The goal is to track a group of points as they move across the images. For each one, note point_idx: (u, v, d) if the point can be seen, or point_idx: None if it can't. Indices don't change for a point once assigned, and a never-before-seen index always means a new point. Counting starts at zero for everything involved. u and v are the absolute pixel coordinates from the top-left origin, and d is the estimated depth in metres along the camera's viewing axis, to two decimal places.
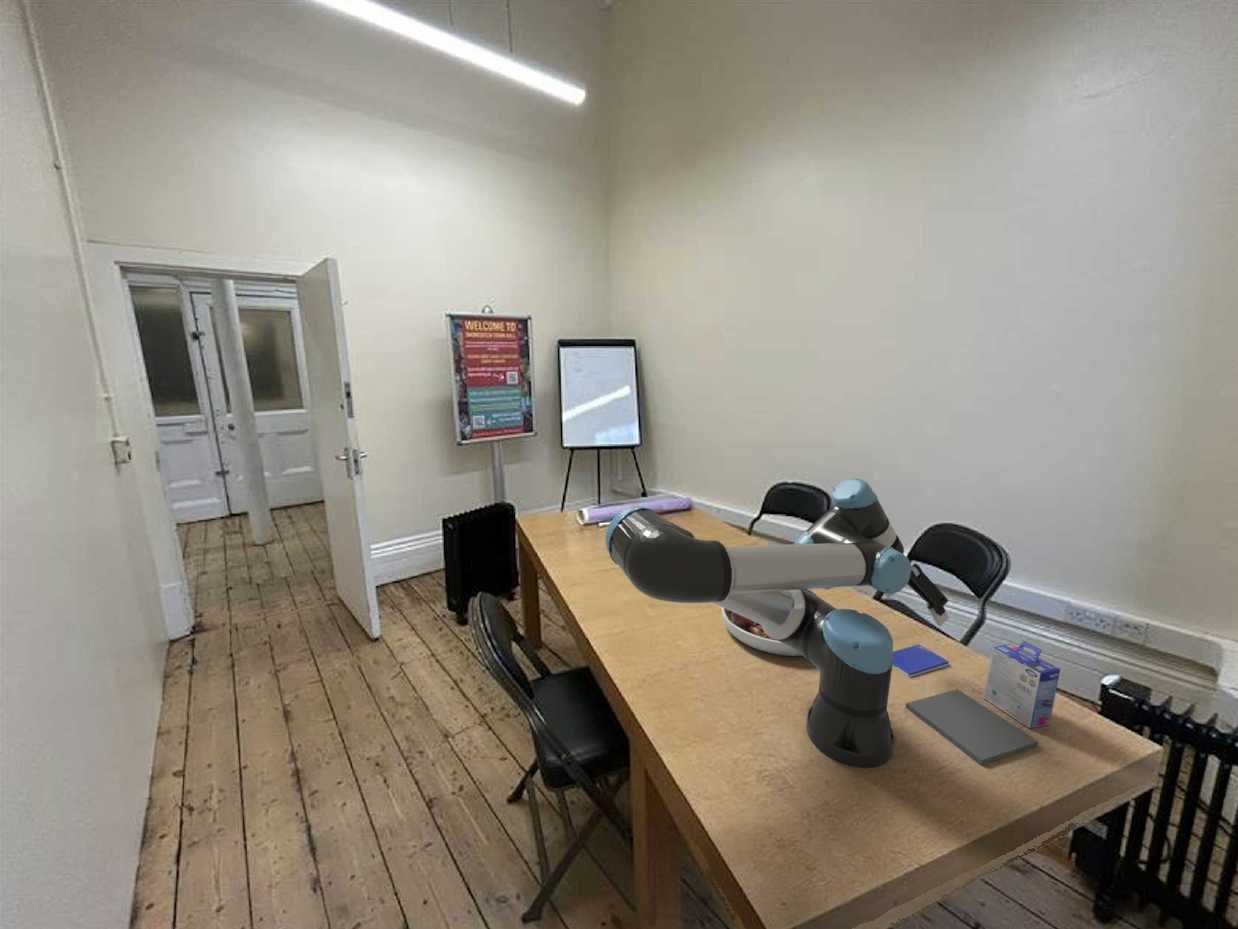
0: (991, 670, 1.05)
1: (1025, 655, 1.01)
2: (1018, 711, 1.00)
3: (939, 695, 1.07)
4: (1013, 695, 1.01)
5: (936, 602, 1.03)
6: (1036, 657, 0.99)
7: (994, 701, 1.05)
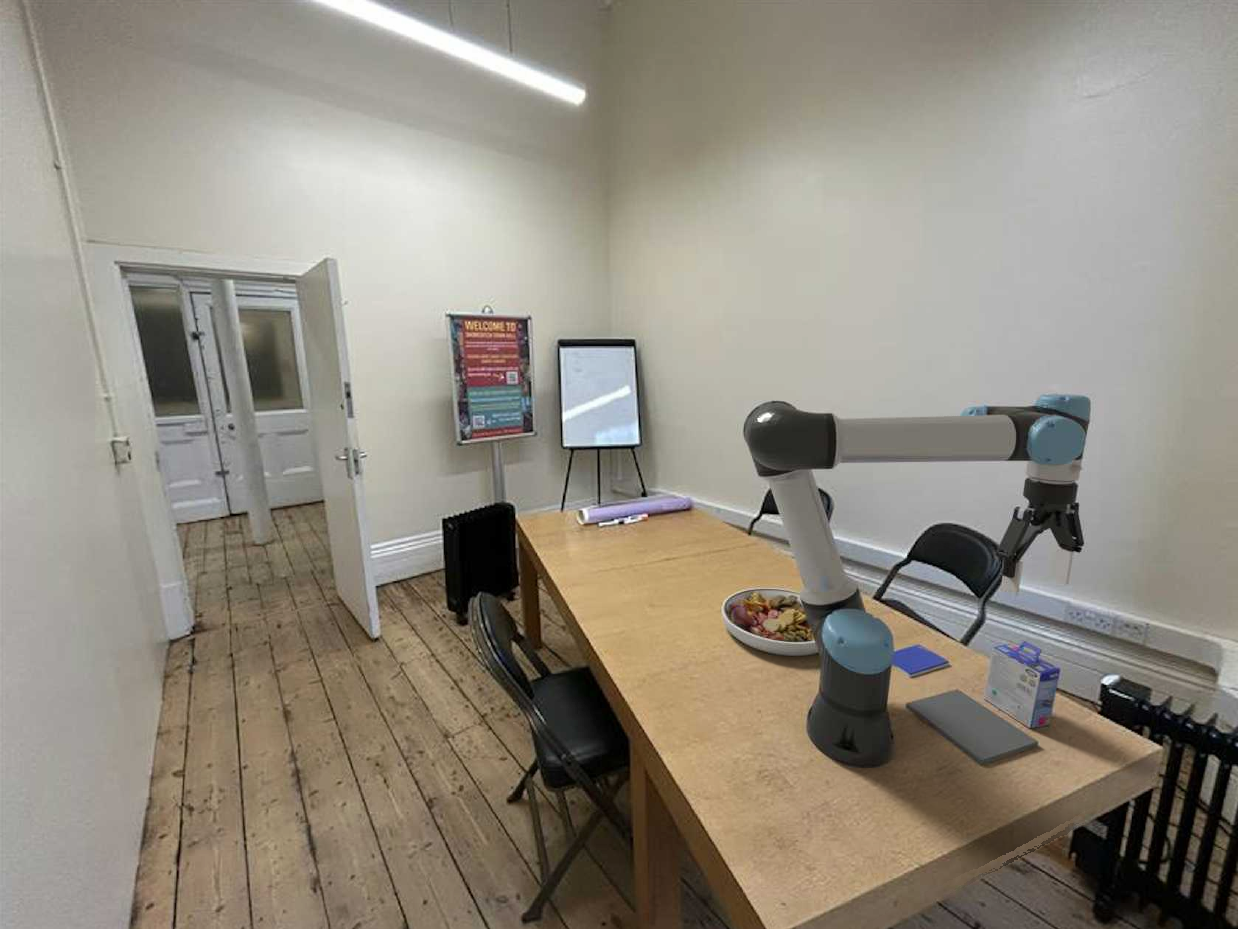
0: (991, 670, 1.05)
1: (1025, 655, 1.01)
2: (1018, 711, 1.00)
3: (939, 695, 1.07)
4: (1013, 695, 1.01)
5: (999, 547, 0.94)
6: (1036, 657, 0.99)
7: (994, 701, 1.05)
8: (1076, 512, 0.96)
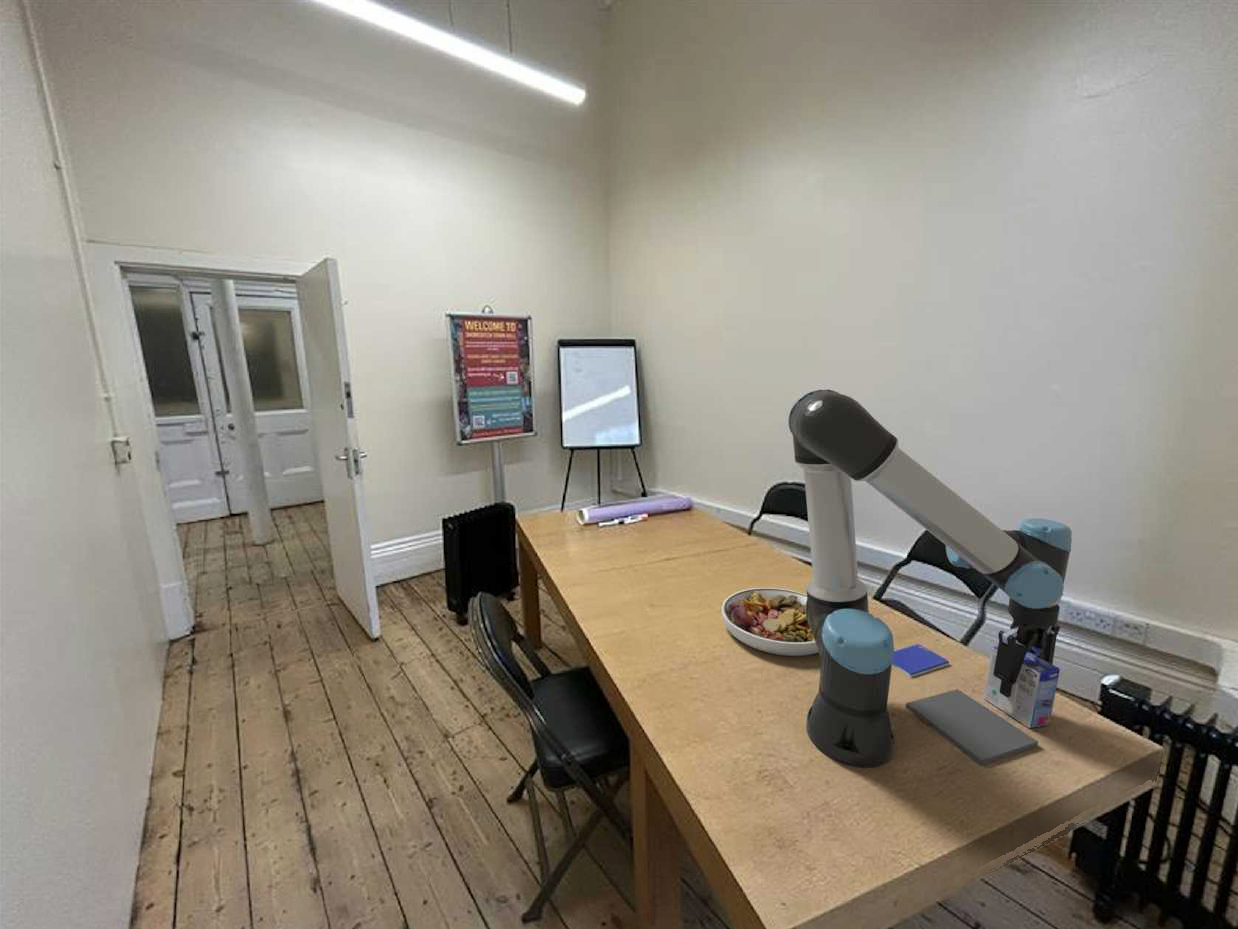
0: (991, 670, 1.05)
1: None
2: (1018, 711, 1.00)
3: (939, 695, 1.07)
4: None
5: (995, 669, 1.00)
6: (1036, 657, 0.99)
7: (994, 701, 1.05)
8: (1055, 634, 1.01)
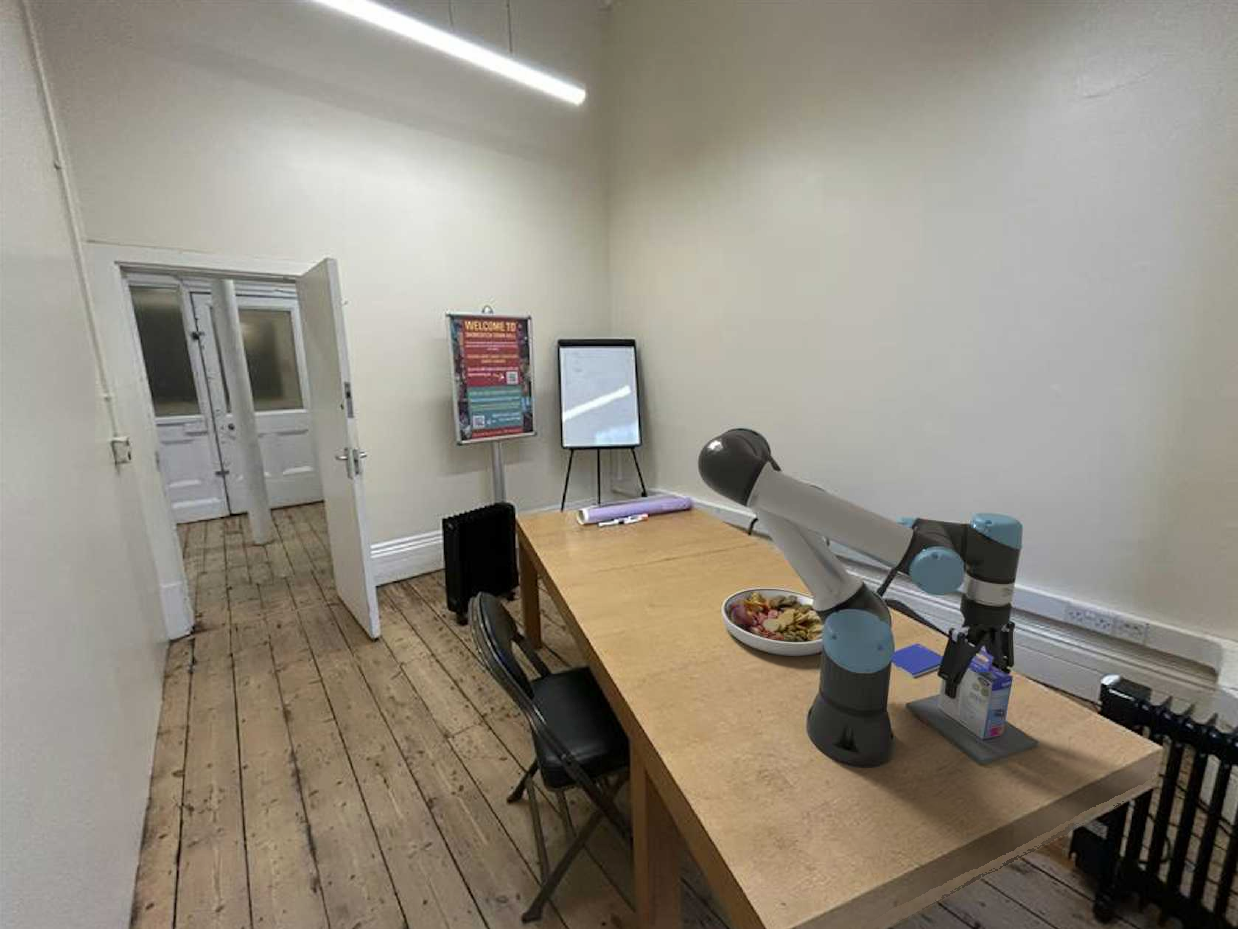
0: None
1: (978, 663, 0.97)
2: (971, 721, 0.96)
3: None
4: (966, 704, 0.97)
5: (940, 669, 0.95)
6: (989, 665, 0.95)
7: (948, 710, 1.01)
8: (1011, 631, 0.96)
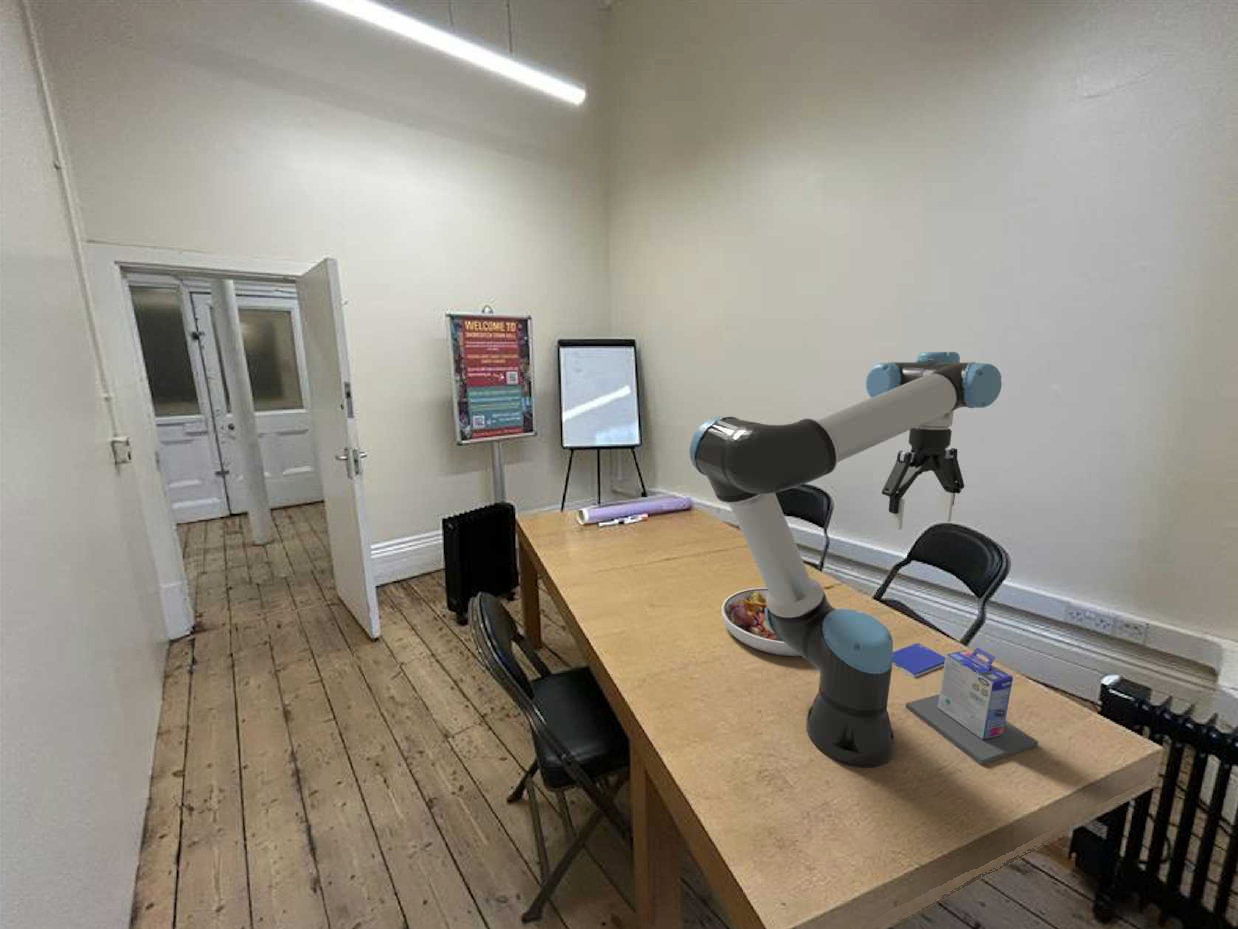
0: (944, 678, 1.01)
1: (978, 663, 0.97)
2: (971, 721, 0.96)
3: None
4: (966, 704, 0.97)
5: (885, 486, 1.08)
6: (989, 665, 0.95)
7: (948, 710, 1.01)
8: (955, 457, 1.09)
